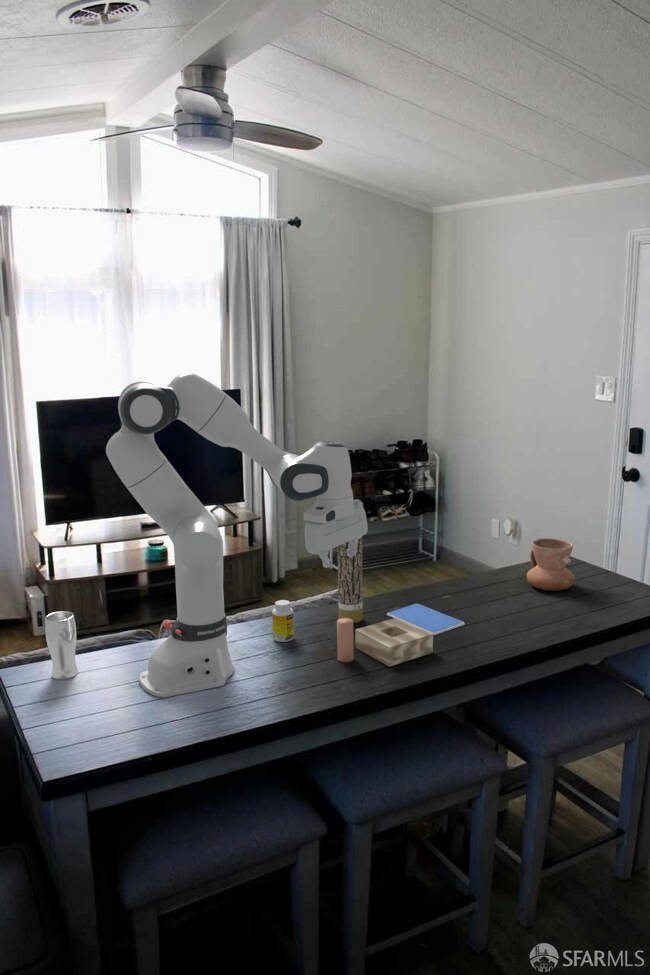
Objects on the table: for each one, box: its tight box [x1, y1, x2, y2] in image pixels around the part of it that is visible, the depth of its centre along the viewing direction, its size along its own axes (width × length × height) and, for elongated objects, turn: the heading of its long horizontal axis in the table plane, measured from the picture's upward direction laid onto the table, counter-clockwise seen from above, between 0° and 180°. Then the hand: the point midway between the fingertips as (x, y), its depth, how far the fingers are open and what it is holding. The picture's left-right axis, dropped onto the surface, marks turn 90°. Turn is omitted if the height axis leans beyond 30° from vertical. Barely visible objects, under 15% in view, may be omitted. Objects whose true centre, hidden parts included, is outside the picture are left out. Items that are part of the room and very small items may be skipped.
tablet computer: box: [386, 603, 466, 636], centre depth 223 cm, size 19×13×1 cm, turn 37°
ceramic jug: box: [526, 537, 576, 592], centre depth 247 cm, size 18×14×14 cm
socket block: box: [354, 617, 434, 667], centre depth 203 cm, size 14×14×5 cm
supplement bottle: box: [271, 599, 295, 643], centre depth 211 cm, size 6×6×10 cm
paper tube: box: [336, 536, 364, 625], centre depth 221 cm, size 7×7×25 cm
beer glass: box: [44, 610, 79, 681], centre depth 192 cm, size 7×7×15 cm
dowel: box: [336, 618, 355, 663], centre depth 198 cm, size 4×4×10 cm
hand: (339, 561), depth 197 cm, fingers open, 8 cm apart
